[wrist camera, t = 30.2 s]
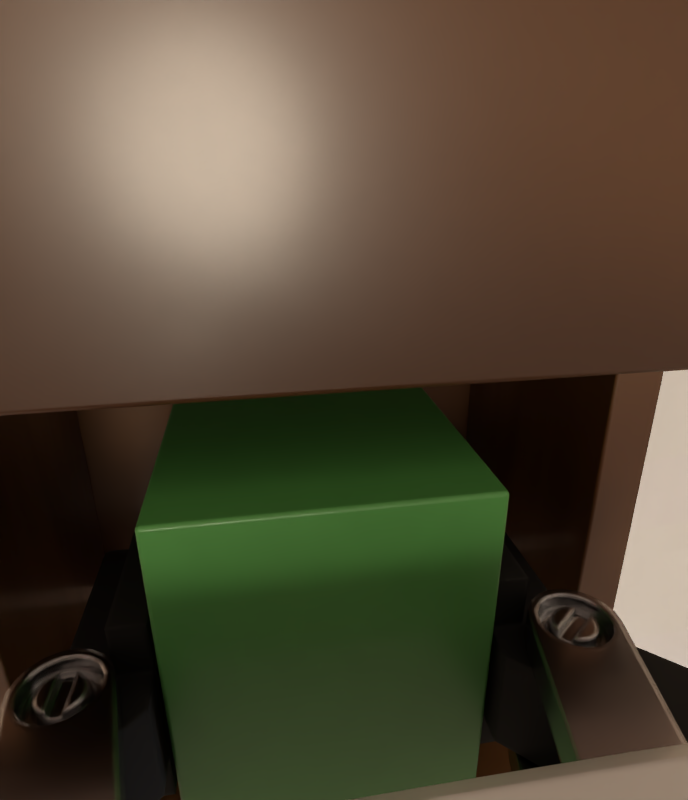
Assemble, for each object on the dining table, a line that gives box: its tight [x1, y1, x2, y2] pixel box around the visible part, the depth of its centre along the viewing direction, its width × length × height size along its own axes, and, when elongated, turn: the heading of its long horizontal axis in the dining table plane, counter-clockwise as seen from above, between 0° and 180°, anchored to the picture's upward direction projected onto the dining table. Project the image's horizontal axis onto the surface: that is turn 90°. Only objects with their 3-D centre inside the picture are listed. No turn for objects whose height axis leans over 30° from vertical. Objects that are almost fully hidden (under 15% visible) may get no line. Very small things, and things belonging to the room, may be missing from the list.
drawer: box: [0, 371, 663, 800], centre depth 13 cm, size 20×12×7 cm, turn 0°
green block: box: [135, 388, 509, 800], centre depth 10 cm, size 6×4×4 cm
